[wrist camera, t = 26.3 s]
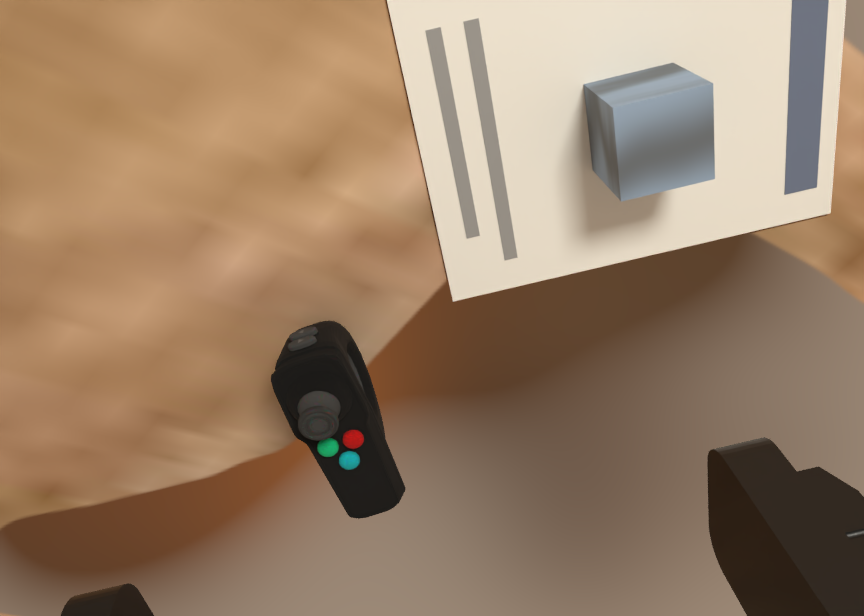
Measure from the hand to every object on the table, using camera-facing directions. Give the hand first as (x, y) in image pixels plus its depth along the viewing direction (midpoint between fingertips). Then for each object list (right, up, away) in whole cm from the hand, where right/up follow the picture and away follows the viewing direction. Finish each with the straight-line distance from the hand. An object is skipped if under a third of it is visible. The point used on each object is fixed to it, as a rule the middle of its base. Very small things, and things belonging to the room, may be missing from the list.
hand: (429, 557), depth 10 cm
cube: (+11, +14, +31) cm, 36 cm away
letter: (+11, +14, +32) cm, 36 cm away
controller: (-6, 0, +38) cm, 38 cm away
